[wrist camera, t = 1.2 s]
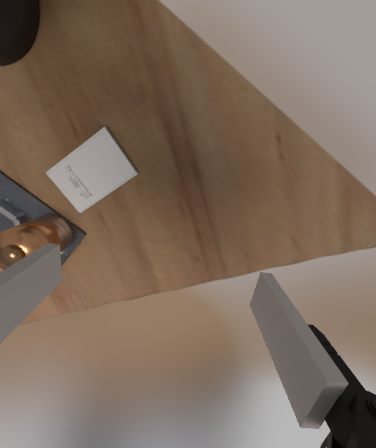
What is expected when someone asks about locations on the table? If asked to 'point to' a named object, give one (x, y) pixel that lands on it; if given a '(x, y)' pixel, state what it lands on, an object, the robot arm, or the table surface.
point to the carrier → (29, 211)
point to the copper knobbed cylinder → (32, 238)
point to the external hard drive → (92, 170)
